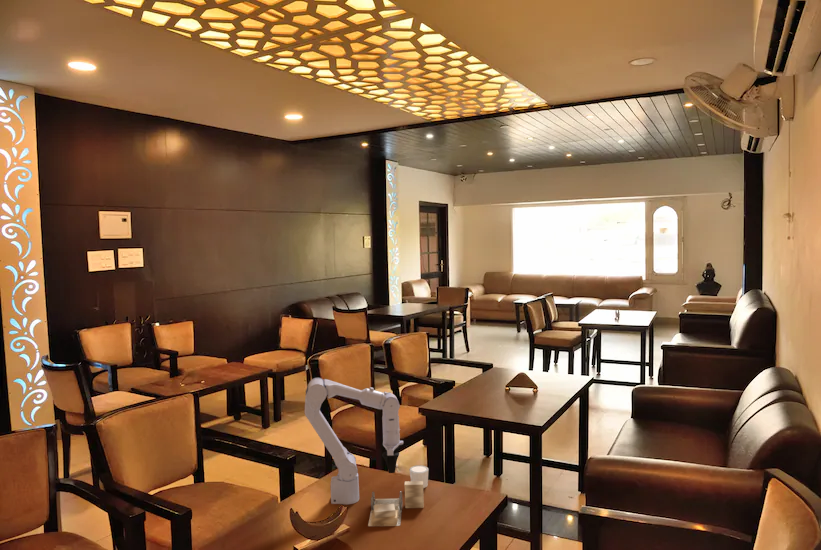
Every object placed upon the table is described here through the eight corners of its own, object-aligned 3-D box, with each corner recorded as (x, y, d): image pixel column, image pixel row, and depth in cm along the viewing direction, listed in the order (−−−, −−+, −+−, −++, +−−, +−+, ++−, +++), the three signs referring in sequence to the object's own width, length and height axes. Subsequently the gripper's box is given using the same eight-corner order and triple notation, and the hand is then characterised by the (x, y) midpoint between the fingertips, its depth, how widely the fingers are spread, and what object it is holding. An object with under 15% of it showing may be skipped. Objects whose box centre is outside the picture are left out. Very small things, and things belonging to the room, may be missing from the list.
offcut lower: (371, 524, 172) (371, 518, 172) (372, 516, 177) (372, 510, 177) (397, 524, 171) (396, 517, 171) (398, 516, 176) (397, 509, 176)
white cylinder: (429, 483, 201) (429, 465, 201) (428, 492, 194) (427, 473, 194) (410, 483, 202) (410, 464, 202) (409, 492, 195) (408, 472, 195)
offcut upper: (375, 518, 171) (374, 512, 171) (373, 511, 176) (373, 505, 176) (395, 516, 172) (395, 510, 172) (394, 509, 177) (393, 503, 176)
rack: (367, 529, 171) (367, 513, 170) (373, 504, 187) (372, 490, 186) (400, 528, 170) (399, 513, 170) (402, 504, 186) (402, 489, 186)
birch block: (405, 510, 182) (404, 484, 181) (405, 506, 184) (404, 481, 184) (423, 509, 181) (422, 484, 181) (423, 506, 184) (422, 481, 183)
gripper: (401, 436, 183) (403, 476, 184) (403, 422, 197) (404, 459, 198) (380, 437, 183) (381, 477, 184) (383, 422, 197) (385, 459, 198)
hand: (392, 467), depth 191 cm, fingers open, 7 cm apart
